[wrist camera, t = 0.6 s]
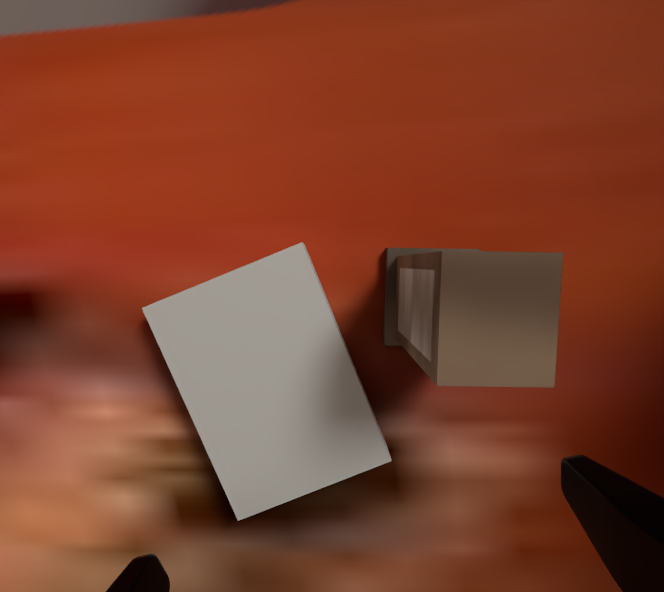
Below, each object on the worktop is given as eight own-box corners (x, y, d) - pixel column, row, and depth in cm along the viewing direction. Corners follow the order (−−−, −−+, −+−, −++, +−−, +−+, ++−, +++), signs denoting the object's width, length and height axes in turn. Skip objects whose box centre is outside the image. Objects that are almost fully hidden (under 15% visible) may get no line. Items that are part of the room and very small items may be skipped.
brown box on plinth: (470, 344, 24) (569, 400, 14) (383, 343, 24) (420, 398, 14) (475, 249, 24) (580, 239, 14) (385, 248, 24) (426, 236, 14)
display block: (386, 444, 25) (391, 460, 23) (245, 500, 25) (237, 520, 23) (304, 244, 23) (302, 242, 22) (157, 304, 24) (141, 308, 22)
